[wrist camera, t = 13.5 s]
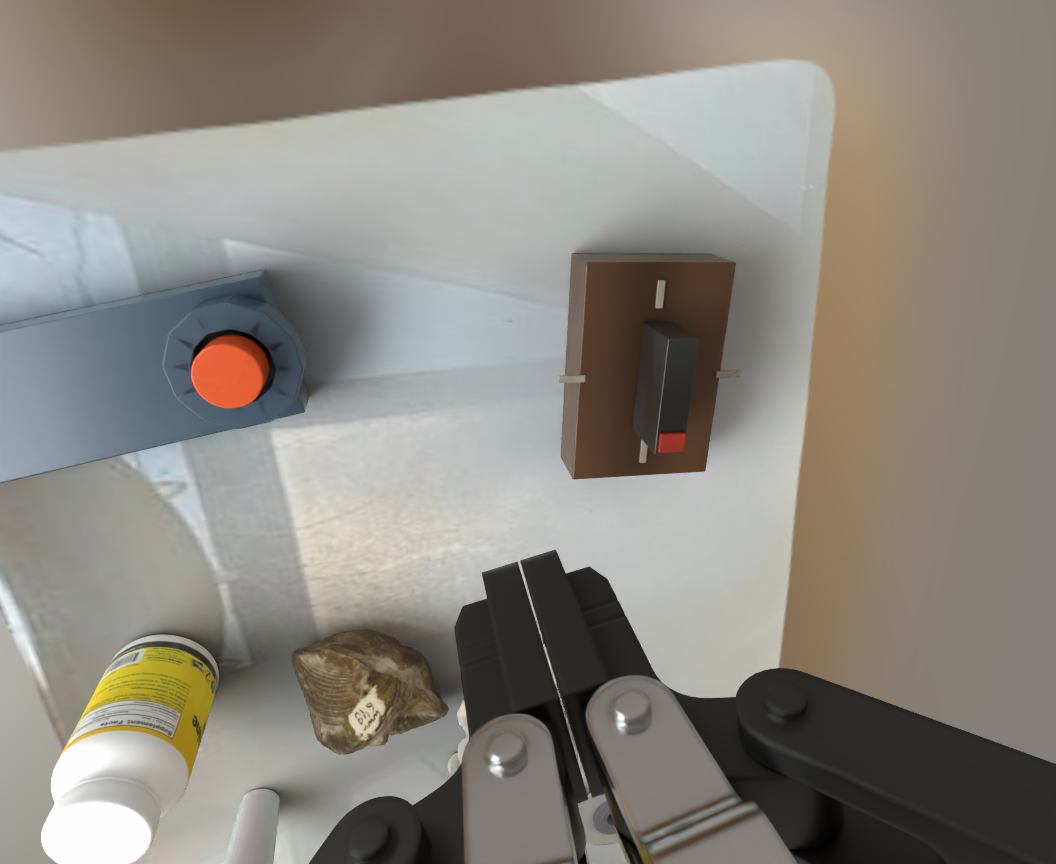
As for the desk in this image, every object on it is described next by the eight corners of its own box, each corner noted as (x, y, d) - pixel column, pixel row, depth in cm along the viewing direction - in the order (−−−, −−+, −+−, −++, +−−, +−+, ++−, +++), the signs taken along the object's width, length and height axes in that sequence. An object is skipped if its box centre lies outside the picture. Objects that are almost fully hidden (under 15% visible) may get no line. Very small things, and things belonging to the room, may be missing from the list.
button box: (285, 264, 33) (272, 279, 30) (327, 393, 36) (320, 421, 33) (-98, 345, 32) (-161, 371, 28) (-21, 474, 35) (-70, 513, 31)
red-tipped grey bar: (643, 321, 35) (670, 340, 31) (672, 320, 35) (702, 339, 32) (631, 428, 37) (656, 456, 34) (659, 427, 37) (685, 455, 34)
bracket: (559, 800, 52) (570, 841, 49) (675, 741, 52) (693, 780, 49) (590, 846, 55) (602, 888, 52) (700, 791, 55) (719, 829, 52)
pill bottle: (199, 720, 43) (142, 894, 33) (96, 694, 41) (1, 872, 31) (237, 647, 41) (190, 807, 31) (132, 616, 39) (45, 777, 29)
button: (256, 327, 31) (249, 337, 29) (278, 387, 32) (272, 400, 30) (190, 342, 31) (179, 353, 29) (214, 402, 32) (205, 415, 30)
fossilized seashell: (479, 696, 43) (383, 583, 41) (432, 792, 38) (318, 670, 35) (403, 709, 48) (312, 608, 45) (351, 798, 42) (244, 689, 40)
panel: (729, 253, 37) (758, 262, 35) (701, 449, 42) (724, 472, 39) (551, 252, 36) (565, 262, 33) (542, 458, 40) (554, 482, 37)
